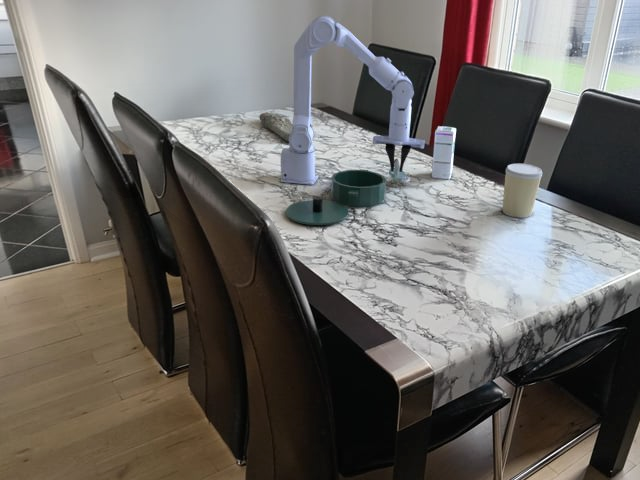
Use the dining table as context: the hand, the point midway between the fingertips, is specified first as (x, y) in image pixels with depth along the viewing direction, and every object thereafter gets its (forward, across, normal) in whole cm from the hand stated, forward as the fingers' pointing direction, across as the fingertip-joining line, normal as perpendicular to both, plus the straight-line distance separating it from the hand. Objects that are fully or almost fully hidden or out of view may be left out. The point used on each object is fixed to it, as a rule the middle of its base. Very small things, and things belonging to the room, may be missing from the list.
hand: (396, 170), depth 167 cm
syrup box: (+4, +13, +11) cm, 18 cm away
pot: (+4, -9, -14) cm, 17 cm away
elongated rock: (+4, -47, +46) cm, 66 cm away
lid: (+3, -17, -29) cm, 34 cm away
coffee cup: (+4, +34, -14) cm, 37 cm away
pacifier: (+3, +1, 0) cm, 3 cm away
